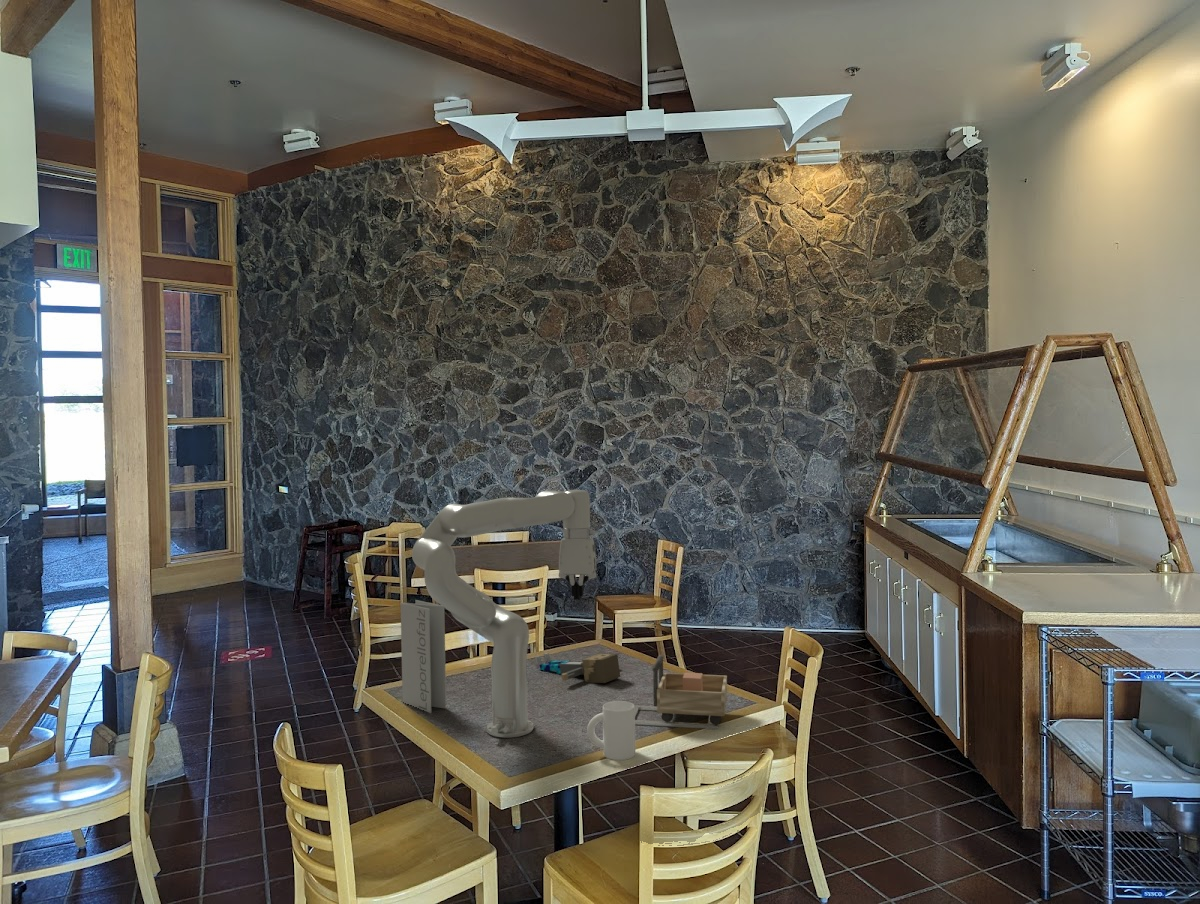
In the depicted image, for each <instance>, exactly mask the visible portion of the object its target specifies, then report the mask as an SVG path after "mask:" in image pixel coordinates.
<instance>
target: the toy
mask: <svg viewBox="0 0 1200 904" xmlns="http://www.w3.org/2000/svg"><path fill="white" fill-rule="evenodd" d="M618 657H619V656H618V654H616V653H612V654H611V653H597V654H594V655H591V656H589V657H586V658H582V659H569V660H553V659H552V658H551V655H550V652H545V653H544V654H543V659H544V662H543V661H542V658H541V655H537V656H534V662H535V663H534V664H535V668H536V669H539V670H538V671H541V670H543V672H544V671H548V672H551V671H552V672H556V674H557V675H561V680H562V681H563V682H564V681H565V682H566V681H568V680H570V679H573V678H575V677H579V676H580V675H583V677H584V682H586V683H594V684H596V683H597V684H607V683H608V682H611V681H613V680H616V679H618V678H621V671H620V665H619V658H618Z"/></svg>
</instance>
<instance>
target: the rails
mask: <svg viewBox="0 0 1200 904" xmlns="http://www.w3.org/2000/svg"><path fill="white" fill-rule="evenodd" d="M634 706H635V718H636V717H637V715H638V713H639V711H652V712H653V711H656V712H657V707H655V706H654V705H638V704H637V705H635V704H634ZM636 725H637V726H651V727H652V726H654V727H675V728H690V729H692V728H693V729H706V730H707V729H709V730H718V729H719V724H718V725H714V724H712V723H711V722H710V716H709V715H708V721H707V723H701V722H700V723H699V722H685V721H684V722H682V721H670V722H665V721H663V720H646V719H645V720H644V719H635V726H636Z"/></svg>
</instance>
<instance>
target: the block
mask: <svg viewBox="0 0 1200 904" xmlns="http://www.w3.org/2000/svg"><path fill="white" fill-rule="evenodd" d="M683 674H684V676H683V690H689V691H703V675H704V674H703V673H702V672H684V673H683Z"/></svg>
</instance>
